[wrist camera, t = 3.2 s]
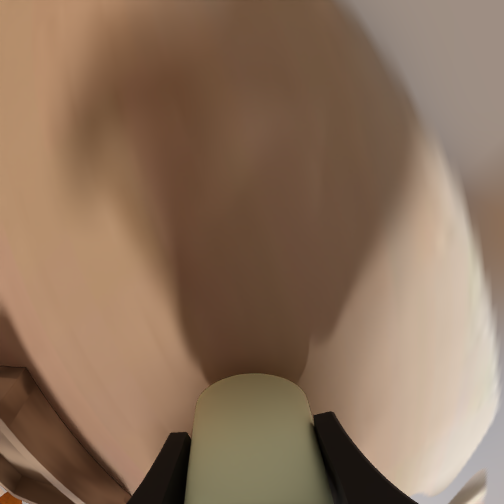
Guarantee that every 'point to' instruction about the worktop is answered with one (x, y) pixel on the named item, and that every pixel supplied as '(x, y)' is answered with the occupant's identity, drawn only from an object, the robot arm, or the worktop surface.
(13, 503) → the carrot
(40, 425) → the walnut tray
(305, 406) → the green cylinder
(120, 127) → the worktop surface
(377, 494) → the robot arm
